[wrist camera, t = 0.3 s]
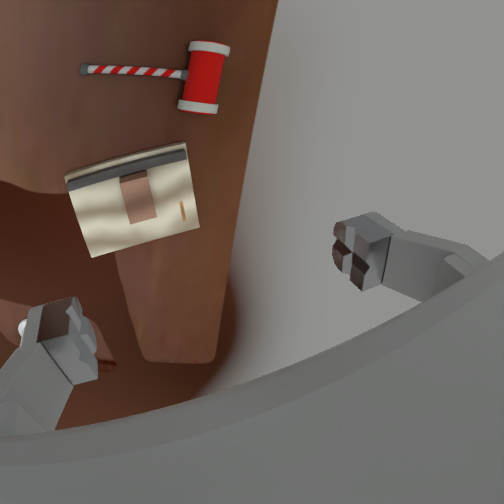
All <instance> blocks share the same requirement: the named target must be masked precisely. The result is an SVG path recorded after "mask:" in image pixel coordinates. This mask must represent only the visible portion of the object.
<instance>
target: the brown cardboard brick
mask: <svg viewBox="0 0 504 504" xmlns="http://www.w3.org/2000/svg"><path fill="white" fill-rule="evenodd" d="M119 185H120V189H121V193H122V196H123V200H124V204H125V208H126V211H127V215H128V219H129V222H130V225H131V224H134V223H138V222H141V221H145V220H149V219H152V218H156V217H157V214H156V210H155V206H154V202H153V197H152V193H151V188H150V184H149V179H148V175H147V171H146V170H142V171H138V172H134V173H131V174H127V175H123V176H120V177H119Z"/></svg>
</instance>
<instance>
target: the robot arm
mask: <svg viewBox="0 0 504 504" xmlns="http://www.w3.org/2000/svg"><path fill="white" fill-rule="evenodd" d="M333 235H334V236H335V237H336V239H337V240H336V242H335V243H334V245H333V248H332V256H333V259H334V263H335V265H336V266H337V268H338V269H339V270H340V271H341V272H342V273H346V274H349V275H350V281H351V282H352V283H353V284H354V285H355V286H357V287H358V288H359V289H360V290H361V291H365V290H367V289H370V288H372V287H375V286H378V285H380V284H382V285H383V286H386V287H388V288H390V289H393V290H395V291H397V292H399V293H402V294H404V295H406V296H409V297H411V298H413V299H416V300H418V301H420V302H422V303H420V304H418V305H417V306H415V307H413V308H411V309H409V310H407V311H406V312H404V313H402V314H400V315H398V316H396V317H394V318H392V319H390V320H388V321H387V322H384V323H383V324H381V325H379V326H377V327H375V328H373V329H370V330H368V331H367V332H364V333H362V334H360V335H358V336H356V337H354V338H352V339H350V340H347V341H345V342H343V343H341V344H339V345H337V346H334V347H332V348H330V349H328V350H325V351H323V352H321V353H318V354H316V355H314V356H312V357H309V358H307V359H305V360H302V361H300V362H297V363H295V364H292V365H290V366H287V367H285V368H282V369H280V370H277V371H274V372H272V373H269V374H267V375H264V376H261V377H259V378H256V379H253V380H250V381H247V382H245V383H242V384H239V385H236V386H233V387H230V388H227V389H224V390H221V391H218V392H215V393H212V394H209V395H206V396H203V397H200V398H196V399H193V400H189V401H186V402H183V403H179V404H176V405H172V406H168V407H165V408H162V409H158V410H154V411H150V412H146V413H142V414H138V415H134V416H129V417H125V418H121V419H116V420H112V421H107V422H102V423H98V424H92V425H87V426H82V427H75V428H69V429H63V430H57V431H54V429H55V427H56V425H57V422H58V420H59V417H60V415H61V413H62V411H63V408H64V406H65V404H66V401H67V399H68V397H69V395H70V393H71V390H72V388H73V386H72V385H75V384H80V383H83V382H87V381H91V380H95V379H98V371H97V360H96V358H95V357H94V355H93V354H94V353H95V351H96V349H97V347H96V339H95V334H94V331H93V328H92V326H91V324H90V322H89V320H88V319H87V318H86V317H84V316H82V307H81V305H80V303H79V301H78V299H77V298H76V297H70V298H66V299H63V300H59V301H55V302H51V303H47V304H45V305H40V306H37V307H34V308H31V309H30V310H29V313H28V317H27V322H26V326H25V330H24V335H23V340H22V345H21V347H20V348H17V349H16V350H15V351H14V353H13V354H12V355H11V357H10V358H9V359H8V361H7V362H6V363H5V365H4V366H3V367H2V369H1V370H0V504H504V252H502V253H501V254H499V255H498V256H497V257H495V258H493V259H492V260H490V261H489V260H488V259H486V258H485V257H483V256H482V255H481V254H479V253H478V252H477V251H475V250H474V249H472V248H471V247H469V246H468V245H465V244H461V243H457V242H453V241H449V240H446V239H441V238H438V237H434V236H429V235H426V234H421V233H417V232H413V231H409V230H408V231H404V230H403V229H401V228H400V227H398V226H396V225H395V224H394V223H392V222H390V221H389V220H387V219H386V218H384V217H383V216H381V215H380V214H378V213H377V212H369V213H366V214H363V215H360V216H357V217H354V218H350V219H347V220H343V221H340V222H337V223H336V224H335V226H334V234H333Z"/></svg>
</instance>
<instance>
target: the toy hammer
mask: <svg viewBox="0 0 504 504" xmlns="http://www.w3.org/2000/svg"><path fill="white" fill-rule="evenodd" d="M188 51H189V52H191V56H190V61H189V66H188V70H171V69H160V68H148V67H132V66H98V65H90V64H82V66H81V69H80V74H81V75H88V74H89V73H109V74H134V75H149V76H161V77H172V78H180V79H181V80H184V81H185V86H184V92H183V97H182V99H179V101H178V107H177V108H178V109H180V110H181V111H185V112H190V113H198V114H207V115H213V114H216V113H217V109H218V104H215V103H216V98H217V93H218V88H219V83H220V78H221V73H222V69H223V64H224V59H225V57H228V56H229V52H230V47H228V46H227V45H225V44H222V43H218V42H213V41H205V40H195V41H192V42H190V45H189V50H188Z"/></svg>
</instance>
